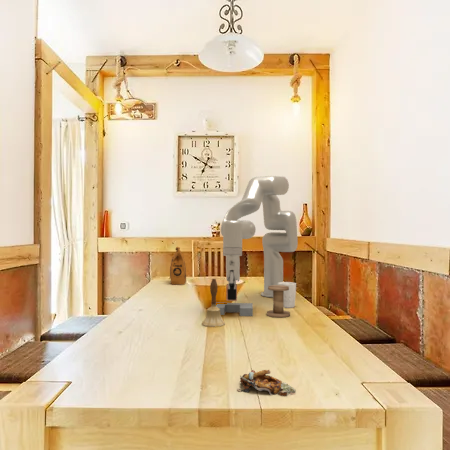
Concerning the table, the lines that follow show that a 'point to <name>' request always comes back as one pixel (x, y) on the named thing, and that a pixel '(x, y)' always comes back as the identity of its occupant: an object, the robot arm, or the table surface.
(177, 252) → the coffee package
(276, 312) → the bobbin
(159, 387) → the table surface
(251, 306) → the notch board
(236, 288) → the copper brown square peg
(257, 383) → the brown irregular lump
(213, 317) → the hand bell
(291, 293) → the white cup
